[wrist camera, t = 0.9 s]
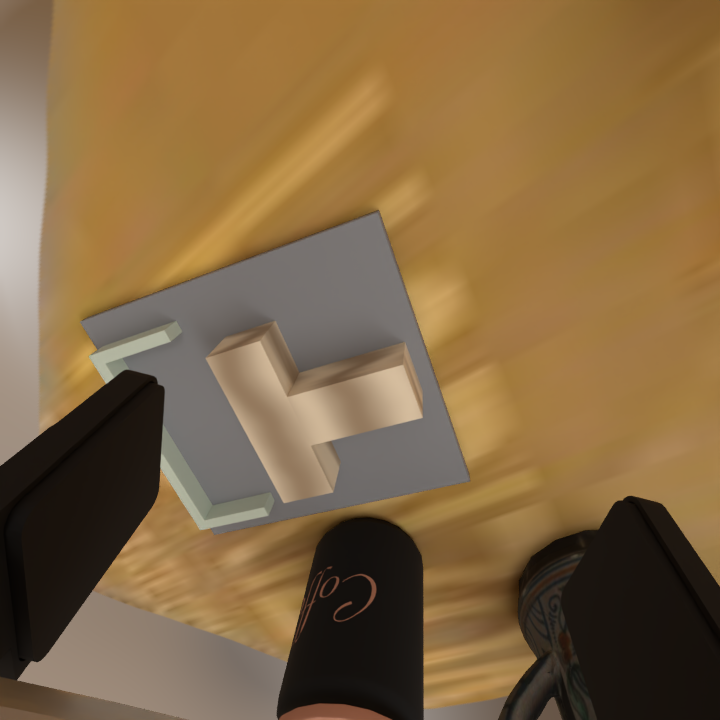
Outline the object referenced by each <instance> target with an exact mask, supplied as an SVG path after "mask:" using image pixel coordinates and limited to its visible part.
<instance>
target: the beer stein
mask: <svg viewBox="0 0 720 720" xmlns="http://www.w3.org/2000/svg"><path fill="white" fill-rule="evenodd" d="M597 531H598V530H588V531H582V532H579V533H576V534H573V535H570V536H567V537H564V538H561V539H558V540H555V541H554V542H552V543H551V544H549V545H548V546H547V547H545V548H544V549H542V550H541V551H539V552H538V553H537V554H535V555H534V556H532V557H531V559H530V561H529V563H528V564H527V566H526V568H525V570H524V572H523V574H522V576H521V578H520V580H519V601H518V619H519V625H520V628H521V631H522V634H523V636H524V638H525V640H526V642H527V643H528V645H529V647H530V648H531V650H532V651H533V652H534V654H535V656H536V657H537V660H536V662H535V663H534V664H533V665H532V666H531V667H530V668H529V669H528V670H527V671H526V672H525V674H524V675H523V676H522V677H521V679H520V680H519V682H518V683H517V684H516V686H515V687H514V689H513V690H512V692H511V693H510V695H509V697H508V698H507V700H506V702H505V705H504V707H503V709H502V712H501V714H500V716H499V719H498V720H537V719H538V717H539V716H540V714H541V713H542V711H543V709H544V708H545V706H546V704H547V702H548V701H549V699H550V698H551V697H554V698H555V700H556V703H557V706H558V709H559V711H560V715H561V718H562V720H597V718H596V715H595V711H594V708H593V705H592V702H591V699H590V696H589V693H588V690H587V686H586V683H585V680H584V677H583V674H582V671H581V668H580V664H579V661H578V658H577V655H576V652H575V649H574V646H573V643H572V639H571V636H570V633H569V630H568V627H567V624H566V621H565V617H564V614H563V611H562V607H561V595H562V591H563V589H564V587H565V586H566V584H567V582H568V580H569V579H570V577H571V575H572V574H573V572H574V570H575V569H576V567H577V565H578V564H579V562H580V560H581V558H582V557H583V555H584V553H585V552H586V550H587V548H588V547H589V545H590V543H591V542H592V540H593V538H594V536H595V535H596V533H597Z"/></svg>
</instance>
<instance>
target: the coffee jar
mask: <svg viewBox="0 0 720 720" xmlns="http://www.w3.org/2000/svg"><path fill="white" fill-rule="evenodd" d="M423 711H424V708H423V563H422V556H421V554H420V552H419V550H418V549H417V547H416V545H415V544H414V542H413V540H411V539H410V537H409V536H408V535H407V534H406V533H404V532H403V531H402V530H401V529H400V528H399V527H397V526H395V525H393V524H391V523H388V522H386V521H383V520H378V519H374V518H355V519H351V520H348V521H345V522H342V523H340V524H339V525H337V526H336V527H334V528H333V529H331V530H330V531H328V532H327V533H326V534H325V535H324V536H323V538H322V539H321V541H320V542H319V544H318V545H317V547H316V551H315V555H314V559H313V563H312V567H311V571H310V575H309V579H308V583H307V587H306V591H305V595H304V599H303V603H302V607H301V611H300V615H299V619H298V623H297V627H296V631H295V635H294V639H293V642H292V646H291V650H290V654H289V658H288V662H287V666H286V670H285V674H284V678H283V683H282V686H281V690H280V694H279V699H278V706H277V718H278V720H423V717H424V716H423Z"/></svg>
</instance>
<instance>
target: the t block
mask: <svg viewBox="0 0 720 720" xmlns="http://www.w3.org/2000/svg"><path fill="white" fill-rule="evenodd" d="M206 360H207V362H208V364H209V366H210V368H211V369H212V371H213V373H214V375H215V377H216V379H217V381H218V382H219V384H220V386H221V388H222V390H223V392H224V394H225V395H226V397H227V399H228V401H229V403H230V405H231V406H232V408H233V410H234V412H235V414H236V416H237V418H238V419H239V421H240V423H241V425H242V427H243V429H244V431H245V432H246V434H247V436H248V438H249V440H250V442H251V443H252V445H253V447H254V449H255V451H256V453H257V455H258V456H259V458H260V460H261V462H262V464H263V466H264V468H265V469H266V471H267V473H268V475H269V477H270V479H271V480H272V482H273V484H274V486H275V488H276V490H277V492H278V493H279V495H280V497H281V499H282V501H283V503H287V502H292V501H296V500H301V499H305V498H310V497H314V496H319V495H324V494H328V493H333V492H334V487H335V483H336V479H337V475H338V471H339V467H340V463H341V461H340V459H339V457H338V455H337V453H336V450H335V448H334V446H333V444H332V442H331V441H332V440H336V439H340V438H344V437H348V436H352V435H356V434H360V433H364V432H368V431H372V430H376V429H380V428H384V427H388V426H392V425H396V424H400V423H404V422H408V421H412V420H416V419H420V418H423V391H422V388H421V385H420V382H419V380H418V377H417V374H416V371H415V368H414V366H413V363H412V360H411V357H410V354H409V352H408V349H407V346H406V343H405V342H403V343H399V344H396V345H392V346H389V347H386V348H382V349H379V350H375V351H372V352H368V353H365V354H362V355H358V356H355V357H351V358H348V359H345V360H341V361H338V362H334V363H331V364H327V365H324V366H321V367H317V368H314V369H310V370H307V371H303V372H300V373H299V371H298V368H297V366H296V364H295V362H294V360H293V358H292V355H291V353H290V351H289V349H288V347H287V345H286V342H285V340H284V338H283V336H282V334H281V332H280V330H279V327H278V325H277V323H276V321H273V322H270V323H266V324H263V325H260V326H257V327H254V328H251V329H248V330H245V331H242V332H239V333H236V334H233V335H230V336H227V337H225V338H224V339H223V340H222V341H221V342H220V343H219V344H218V345H217V346H216V347H215V349H214V350H213V351H212V352H211V353H210V354H209V355H208V356H207V357H206Z"/></svg>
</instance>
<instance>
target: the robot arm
mask: <svg viewBox="0 0 720 720" xmlns="http://www.w3.org/2000/svg"><path fill="white" fill-rule="evenodd" d="M164 400H165V389H164V387H163V386H162V385H158V381H157V378H156V377H155V376H152V375H148V374H144V373H140V372H136V371H132V370H124V371H122V372H121V373H119V374H118V375H117V376H116V377H114V378H113V379H112V380H111V381H109V382H108V383H107V384H106V385H104V386H103V387H102V388H100V389H99V390H98V391H97V392H95V393H94V394H93V395H92V396H90V397H89V398H88V399H87V400H85V401H84V402H83V403H82V404H80V405H79V406H78V407H76V408H75V409H74V410H73V411H71V412H70V413H69V414H68V415H66V416H65V417H64V418H63V419H61V420H60V421H59V422H58V423H56V424H54V425H53V426H51V427H49V428H48V429H47V430H46V431H44V432H43V433H42V434H41V435H39V436H38V437H37V438H36V439H34V440H33V441H32V442H30V443H29V444H28V445H27V446H25V447H24V448H23V449H22V450H20V451H19V452H18V453H17V454H15V455H14V456H13V457H11V458H10V459H9V460H8V461H6V462H5V463H4V464H3V465H1V466H0V720H187V719H182V718H178V717H174V716H170V715H166V714H162V713H158V712H153V711H149V710H145V709H141V708H137V707H133V706H129V705H125V704H120V703H116V702H112V701H107V700H103V699H98V698H94V697H89V696H85V695H80V694H75V693H71V692H66V691H62V690H57V689H53V688H48V687H44V686H39V685H35V684H30V683H26V682H21V681H17V679H18V678H19V677H20V675H21V674H22V673H23V671H24V670H25V668H26V667H27V666H28V664H29V663H30V662H31V661H34V662H39V661H41V660H42V659H43V658H44V657H45V656H46V654H47V653H48V652H49V651H50V649H51V648H52V647H53V645H54V644H55V642H56V641H57V640H58V638H59V637H60V635H61V634H62V632H63V631H64V630H65V628H66V627H67V626H68V624H69V622H70V621H71V620H72V618H73V617H74V616H75V614H76V613H77V611H78V610H79V609H80V607H81V606H82V604H83V603H84V602H85V600H86V599H87V597H88V596H89V595H90V593H91V592H92V590H93V589H94V588H95V586H96V585H97V583H98V582H99V581H100V579H101V578H102V576H103V575H104V574H105V572H106V571H107V569H108V568H109V567H110V565H111V564H112V562H113V561H114V560H115V558H116V557H117V555H118V554H119V553H120V551H121V550H122V548H123V547H124V546H125V544H126V543H127V541H128V540H129V539H130V537H131V536H132V534H133V533H134V532H135V530H136V529H137V527H138V526H139V525H140V523H141V522H142V520H143V519H144V518H145V516H146V515H147V513H148V512H149V511H150V509H151V508H152V506H153V504H154V503H155V500H156V498H157V495H158V491H159V481H160V465H161V448H162V432H163V416H164ZM561 607H562V611H563V614H564V617H565V621H566V624H567V627H568V630H569V633H570V636H571V639H572V643H573V646H574V649H575V652H576V655H577V658H578V661H579V664H580V668H581V671H582V674H583V677H584V680H585V683H586V686H587V690H588V693H589V696H590V699H591V702H592V705H593V708H594V711H595V715H596V718H597V720H720V586H719V585H718V583H717V582H716V581H715V579H714V578H713V576H712V575H711V573H710V572H709V570H708V569H707V568H706V566H705V565H704V563H703V562H702V560H701V559H700V557H699V556H698V554H697V553H696V552H695V550H694V549H693V547H692V546H691V544H690V543H689V541H688V540H687V538H686V537H685V536H684V534H683V533H682V531H681V530H680V528H679V527H678V525H677V524H676V523H675V521H674V520H673V518H672V517H671V515H670V514H669V512H668V511H667V509H666V508H665V507H664V506H663V505H662V504H660V503H658V502H654V501H650V500H646V499H642V498H638V497H634V496H628V497H626V498H624V499H623V501H617V502H615V503H614V505H613V506H612V508H611V509H610V511H609V513H608V514H607V516H606V518H605V520H604V521H603V523H602V525H601V526H600V528H599V530H598V531H597V533H596V535H595V536H594V538H593V540H592V542H591V543H590V545H589V547H588V548H587V550H586V552H585V553H584V555H583V557H582V558H581V560H580V562H579V564H578V565H577V567H576V569H575V570H574V572H573V574H572V575H571V577H570V579H569V580H568V582H567V584H566V586H565V587H564V589H563V591H562V595H561Z"/></svg>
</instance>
